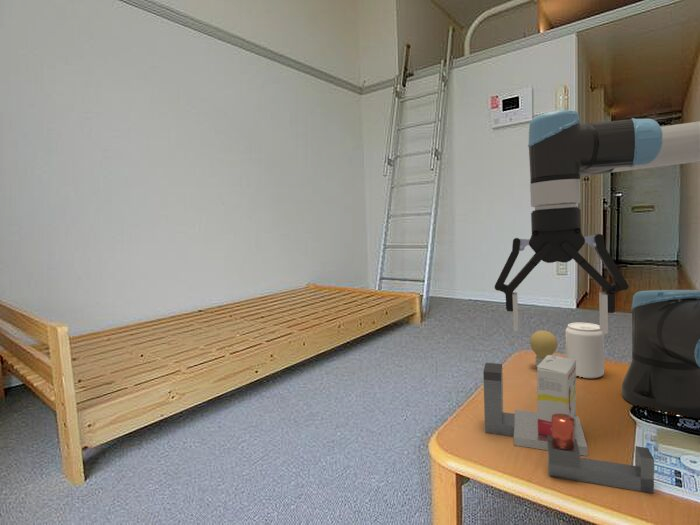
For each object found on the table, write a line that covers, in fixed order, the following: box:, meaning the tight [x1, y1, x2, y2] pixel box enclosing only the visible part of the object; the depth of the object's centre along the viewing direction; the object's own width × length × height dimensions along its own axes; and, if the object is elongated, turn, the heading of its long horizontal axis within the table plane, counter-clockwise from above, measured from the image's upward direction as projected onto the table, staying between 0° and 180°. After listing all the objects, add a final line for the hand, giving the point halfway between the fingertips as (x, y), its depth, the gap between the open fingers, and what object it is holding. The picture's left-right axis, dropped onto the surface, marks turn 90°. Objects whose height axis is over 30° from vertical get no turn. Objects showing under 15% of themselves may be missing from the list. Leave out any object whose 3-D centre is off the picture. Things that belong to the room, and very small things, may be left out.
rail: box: [547, 445, 655, 494], centre depth 60 cm, size 13×3×5 cm, turn 67°
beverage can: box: [565, 322, 605, 379], centre depth 100 cm, size 8×8×12 cm
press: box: [483, 362, 588, 457], centre depth 74 cm, size 16×11×12 cm
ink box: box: [536, 354, 577, 436], centre depth 72 cm, size 9×5×12 cm, turn 142°
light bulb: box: [529, 330, 558, 369], centre depth 104 cm, size 6×6×10 cm
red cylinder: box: [547, 414, 581, 469], centre depth 62 cm, size 4×4×6 cm
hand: (558, 330), depth 71 cm, fingers open, 13 cm apart
